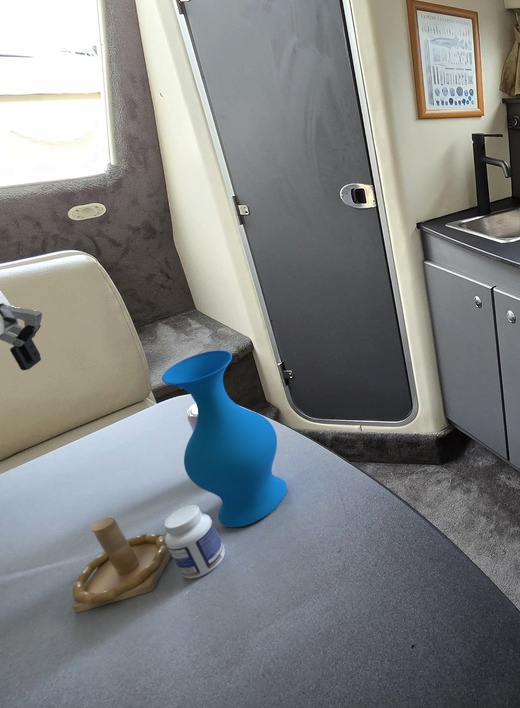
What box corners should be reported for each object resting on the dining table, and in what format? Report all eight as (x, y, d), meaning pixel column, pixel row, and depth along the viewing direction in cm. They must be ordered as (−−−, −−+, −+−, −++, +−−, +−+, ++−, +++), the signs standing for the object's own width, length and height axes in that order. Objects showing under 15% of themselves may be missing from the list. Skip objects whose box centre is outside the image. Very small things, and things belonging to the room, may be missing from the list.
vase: (301, 467, 92) (256, 337, 81) (284, 522, 81) (229, 380, 70) (227, 486, 89) (169, 353, 78) (198, 546, 77) (127, 400, 67)
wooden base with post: (75, 613, 68) (41, 562, 65) (111, 556, 76) (83, 508, 73) (153, 590, 71) (124, 540, 67) (180, 538, 79) (156, 490, 75)
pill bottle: (222, 540, 78) (201, 494, 75) (229, 562, 75) (207, 515, 71) (180, 563, 75) (155, 516, 71) (184, 587, 71) (159, 539, 67)
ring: (57, 616, 67) (53, 610, 66) (101, 550, 76) (97, 544, 76) (149, 589, 70) (145, 584, 69) (180, 529, 79) (178, 523, 79)
